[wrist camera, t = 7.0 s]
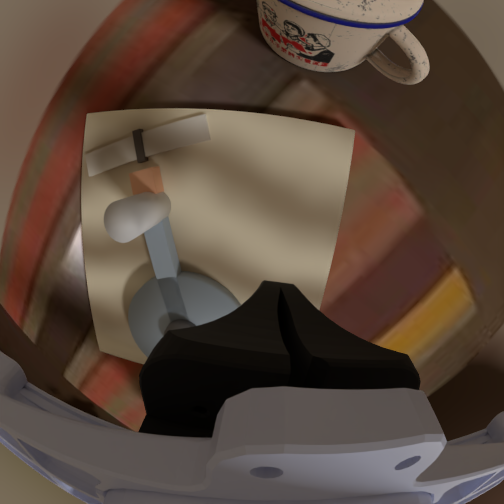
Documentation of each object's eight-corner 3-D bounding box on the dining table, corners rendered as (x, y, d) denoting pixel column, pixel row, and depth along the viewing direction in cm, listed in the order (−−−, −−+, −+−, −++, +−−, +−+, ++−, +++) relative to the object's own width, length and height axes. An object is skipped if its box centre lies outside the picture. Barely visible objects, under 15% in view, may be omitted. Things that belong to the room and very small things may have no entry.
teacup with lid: (230, 22, 15) (191, -77, 4) (313, -28, 12) (332, -118, 1) (346, 130, 17) (435, 100, 6) (421, 70, 15) (516, 27, 4)
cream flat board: (293, 382, 25) (294, 395, 23) (104, 344, 25) (97, 353, 23) (350, 132, 17) (357, 129, 15) (95, 114, 18) (82, 112, 16)
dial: (258, 368, 23) (254, 411, 18) (156, 370, 24) (137, 406, 19) (215, 153, 17) (194, 151, 12) (94, 185, 18) (52, 196, 14)
